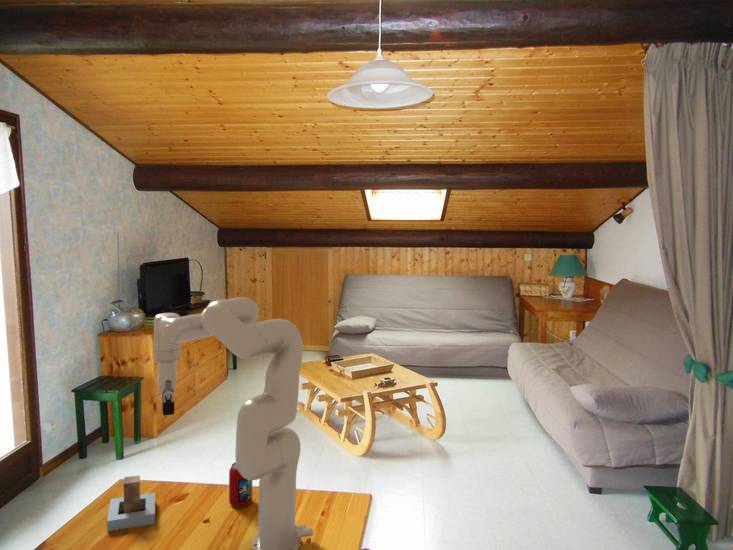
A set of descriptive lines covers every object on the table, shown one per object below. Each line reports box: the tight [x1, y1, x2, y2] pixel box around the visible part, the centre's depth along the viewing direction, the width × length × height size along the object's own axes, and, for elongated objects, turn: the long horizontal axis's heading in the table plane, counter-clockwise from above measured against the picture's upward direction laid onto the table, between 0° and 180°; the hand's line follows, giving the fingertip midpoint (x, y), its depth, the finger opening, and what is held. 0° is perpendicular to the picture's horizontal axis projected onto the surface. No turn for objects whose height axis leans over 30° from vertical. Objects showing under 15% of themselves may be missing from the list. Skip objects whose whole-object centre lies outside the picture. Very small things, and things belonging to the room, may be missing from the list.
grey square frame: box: [106, 492, 156, 532], centre depth 155 cm, size 12×12×3 cm
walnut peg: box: [123, 474, 141, 514], centre depth 155 cm, size 4×4×11 cm
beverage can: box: [228, 461, 253, 508], centre depth 163 cm, size 7×7×12 cm
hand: (168, 408), depth 167 cm, fingers open, 9 cm apart
